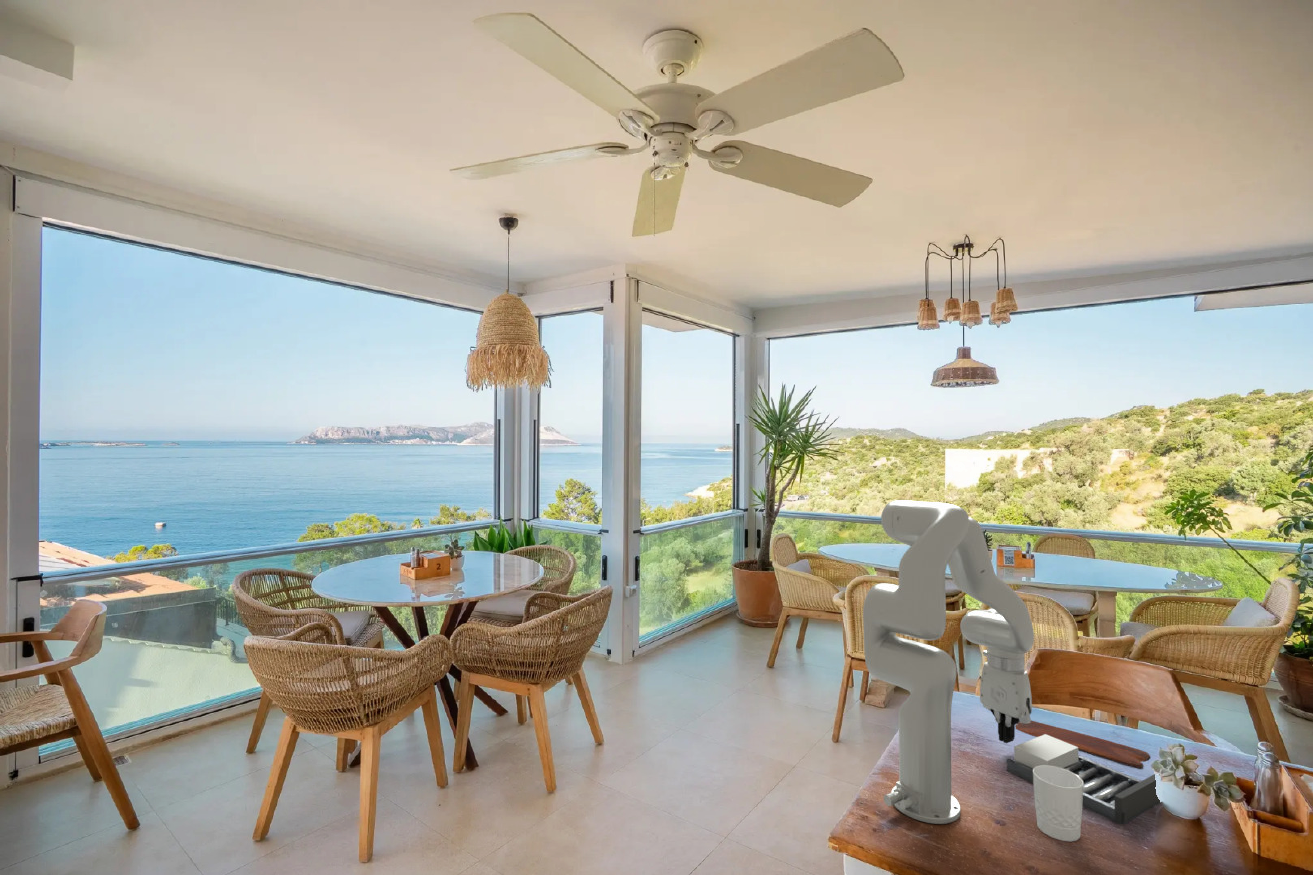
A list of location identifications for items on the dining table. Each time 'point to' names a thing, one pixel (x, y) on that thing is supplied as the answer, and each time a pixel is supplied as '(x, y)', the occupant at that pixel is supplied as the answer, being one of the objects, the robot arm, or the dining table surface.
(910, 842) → the dining table surface
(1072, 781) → the white cup
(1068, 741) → the wooden tablet
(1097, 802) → the roller track
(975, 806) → the dining table surface
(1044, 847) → the dining table surface
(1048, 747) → the slab
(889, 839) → the dining table surface
